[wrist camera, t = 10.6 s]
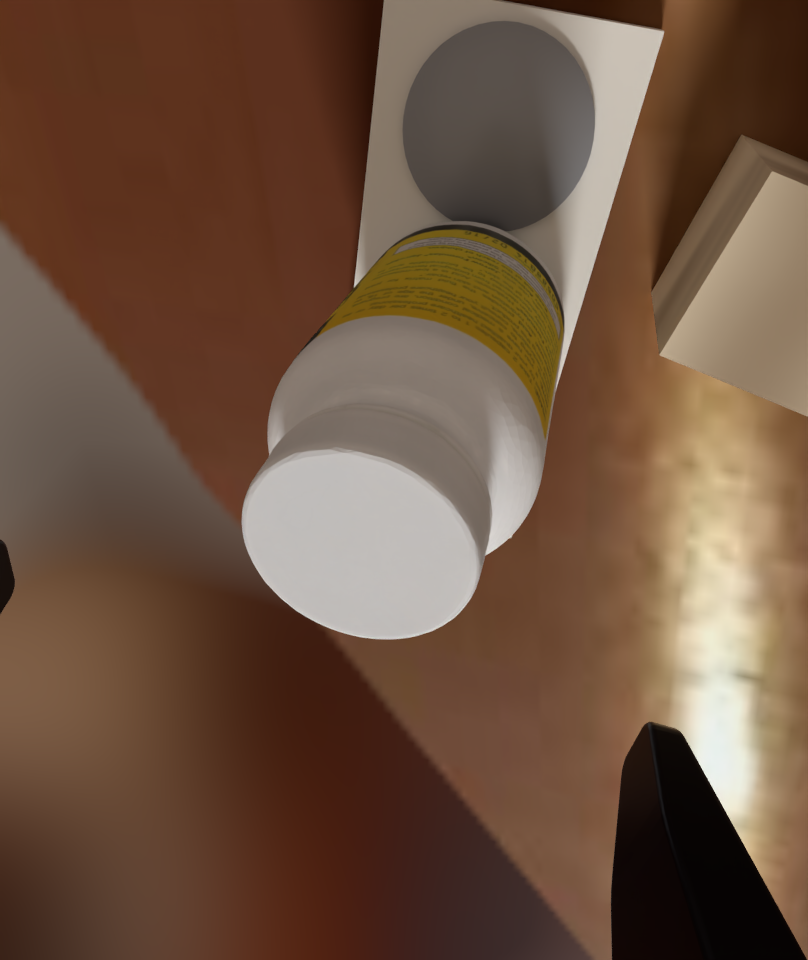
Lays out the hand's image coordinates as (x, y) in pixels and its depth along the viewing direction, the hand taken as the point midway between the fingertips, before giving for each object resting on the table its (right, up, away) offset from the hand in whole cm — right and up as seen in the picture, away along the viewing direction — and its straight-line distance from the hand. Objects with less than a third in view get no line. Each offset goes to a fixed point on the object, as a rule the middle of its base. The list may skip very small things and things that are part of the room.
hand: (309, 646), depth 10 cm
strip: (+3, +7, +10) cm, 13 cm away
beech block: (+10, +8, +8) cm, 15 cm away
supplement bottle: (+3, +7, +10) cm, 12 cm away
